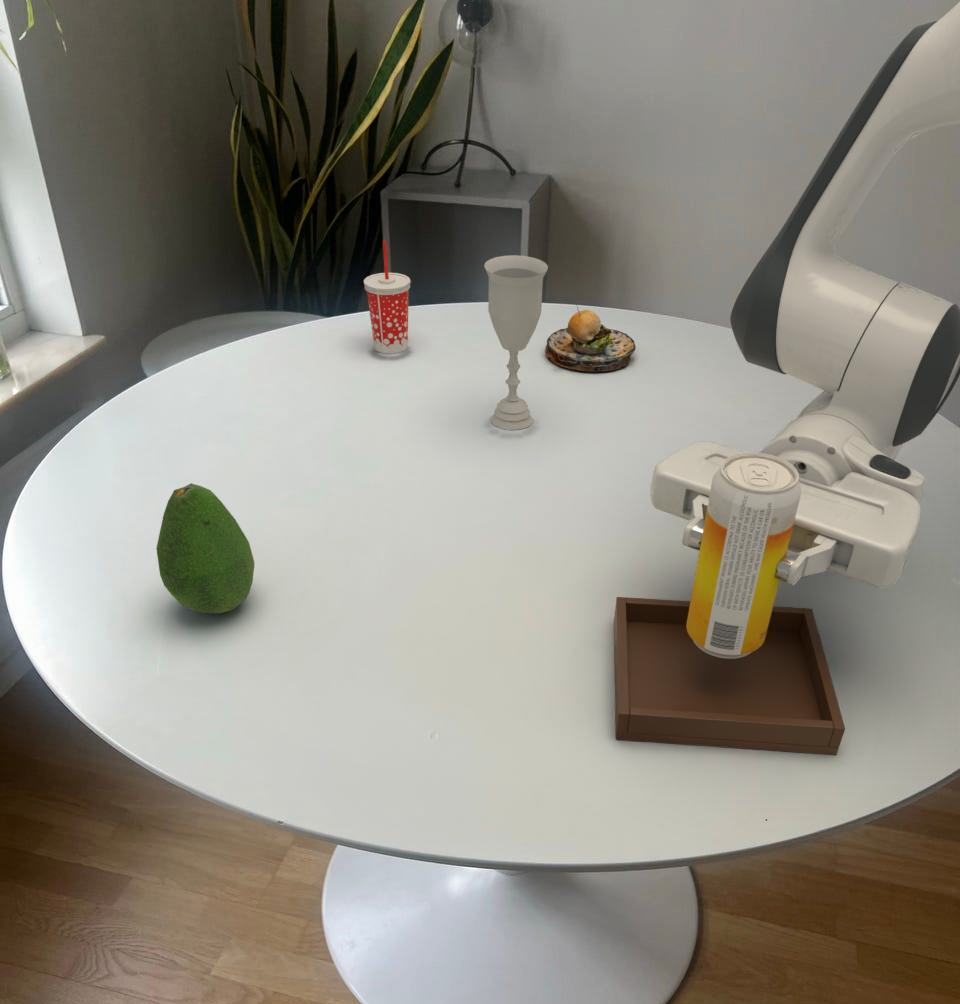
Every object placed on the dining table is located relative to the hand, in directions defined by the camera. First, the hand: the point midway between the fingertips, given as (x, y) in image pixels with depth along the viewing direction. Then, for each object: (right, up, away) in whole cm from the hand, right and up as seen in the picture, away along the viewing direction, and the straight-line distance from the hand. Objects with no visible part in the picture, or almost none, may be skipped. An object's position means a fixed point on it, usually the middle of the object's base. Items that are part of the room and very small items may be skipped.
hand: (738, 557), depth 70 cm
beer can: (0, -6, +6) cm, 9 cm away
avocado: (-43, -3, +17) cm, 46 cm away
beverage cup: (-31, +34, +62) cm, 77 cm away
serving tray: (+1, -10, +9) cm, 13 cm away
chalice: (-15, +20, +45) cm, 51 cm away
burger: (-4, +32, +60) cm, 68 cm away
